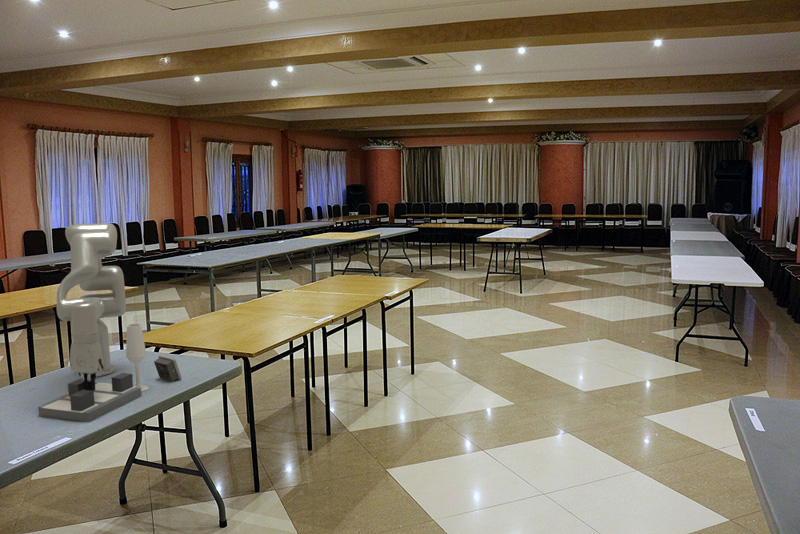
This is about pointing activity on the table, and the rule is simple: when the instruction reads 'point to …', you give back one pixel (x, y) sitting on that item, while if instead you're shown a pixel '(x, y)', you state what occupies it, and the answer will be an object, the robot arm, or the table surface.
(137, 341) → the champagne flute
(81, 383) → the block
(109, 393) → the breaker panel
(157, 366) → the electrical switch
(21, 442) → the table surface
